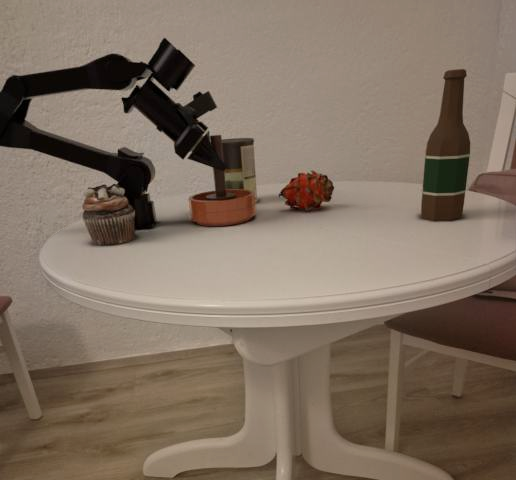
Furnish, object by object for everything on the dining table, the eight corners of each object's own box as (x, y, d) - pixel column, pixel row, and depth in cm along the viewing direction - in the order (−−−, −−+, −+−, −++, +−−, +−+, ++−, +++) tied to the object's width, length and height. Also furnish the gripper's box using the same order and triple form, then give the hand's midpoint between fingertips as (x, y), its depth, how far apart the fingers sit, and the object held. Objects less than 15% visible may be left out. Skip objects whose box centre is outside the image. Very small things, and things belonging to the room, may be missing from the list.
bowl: (189, 229, 95) (185, 203, 93) (194, 215, 107) (191, 192, 105) (257, 224, 95) (256, 198, 93) (254, 210, 107) (253, 187, 105)
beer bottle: (455, 222, 85) (473, 67, 74) (412, 219, 90) (423, 72, 79) (468, 213, 91) (487, 67, 80) (427, 210, 95) (439, 71, 84)
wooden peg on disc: (219, 207, 96) (212, 136, 90) (200, 204, 100) (192, 136, 94) (243, 202, 99) (238, 133, 94) (224, 199, 104) (218, 133, 98)
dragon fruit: (339, 215, 104) (284, 227, 105) (331, 186, 108) (279, 198, 109) (338, 186, 96) (279, 199, 98) (329, 157, 100) (273, 170, 102)
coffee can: (225, 208, 111) (218, 143, 105) (210, 202, 120) (203, 141, 113) (265, 202, 115) (261, 138, 108) (247, 196, 123) (243, 137, 117)
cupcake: (77, 245, 90) (63, 190, 85) (110, 232, 98) (100, 180, 93) (117, 247, 86) (105, 190, 82) (149, 234, 94) (140, 180, 89)
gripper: (184, 72, 81) (253, 139, 86) (192, 77, 97) (250, 133, 102) (145, 127, 84) (214, 188, 89) (159, 123, 101) (217, 174, 106)
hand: (225, 168), depth 97 cm, fingers closed on wooden peg on disc, 2 cm apart
